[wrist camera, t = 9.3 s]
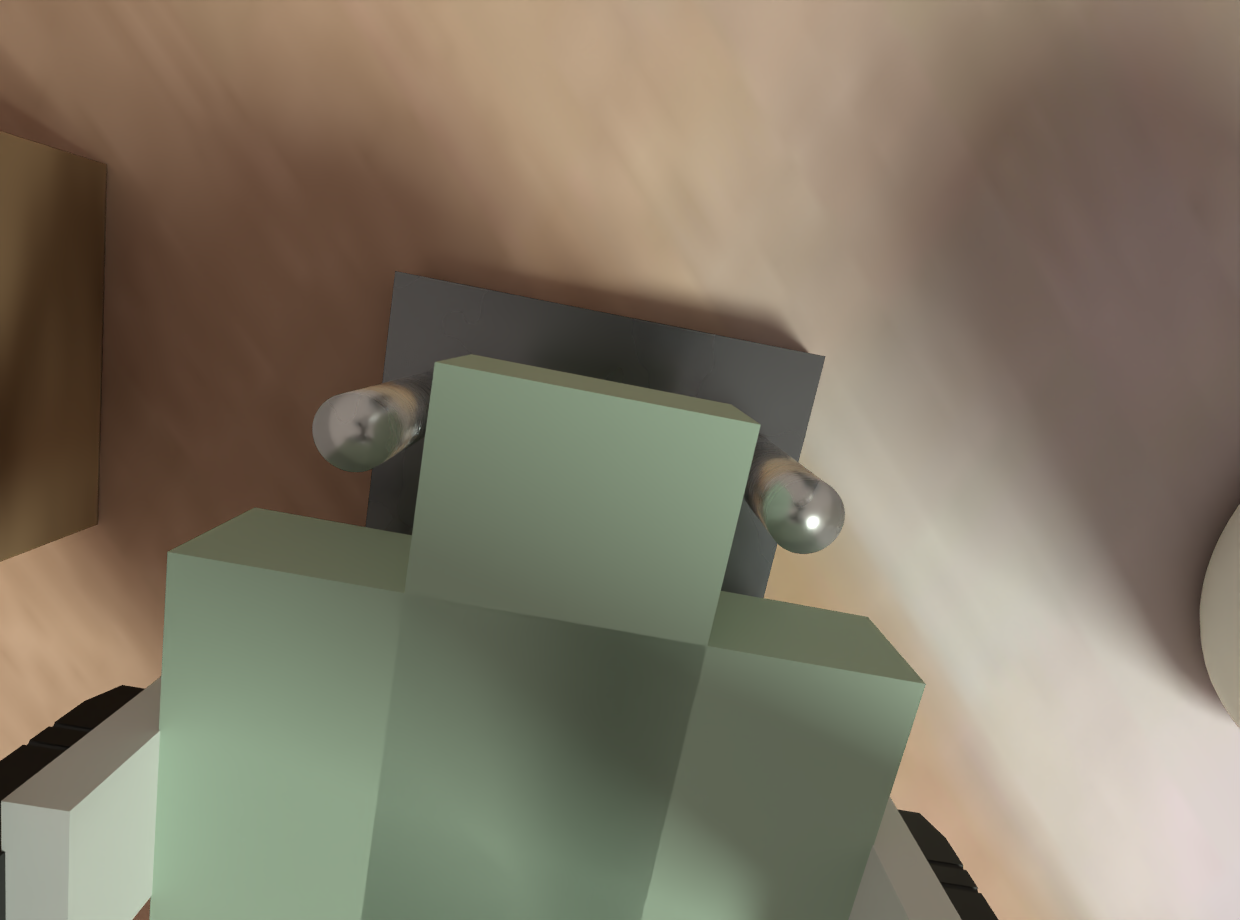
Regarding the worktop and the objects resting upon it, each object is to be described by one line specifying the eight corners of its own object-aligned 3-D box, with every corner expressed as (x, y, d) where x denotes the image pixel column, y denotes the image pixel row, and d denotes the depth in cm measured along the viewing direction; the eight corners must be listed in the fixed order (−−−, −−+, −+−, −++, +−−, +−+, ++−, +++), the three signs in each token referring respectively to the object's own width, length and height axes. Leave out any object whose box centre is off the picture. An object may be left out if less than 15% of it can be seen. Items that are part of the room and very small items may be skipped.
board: (269, 315, 9) (179, 313, 7) (919, 441, 10) (994, 469, 8) (212, 1048, 12) (136, 1185, 10) (719, 1118, 13) (738, 1261, 11)
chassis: (410, 274, 14) (300, 247, 9) (811, 354, 14) (913, 369, 9) (336, 883, 17) (226, 1107, 12) (665, 932, 18) (685, 1167, 13)
